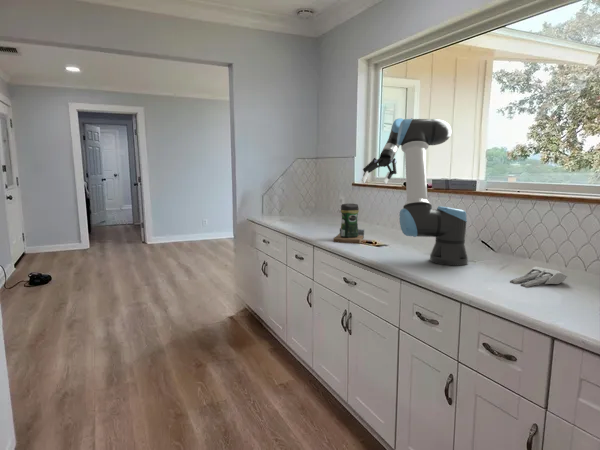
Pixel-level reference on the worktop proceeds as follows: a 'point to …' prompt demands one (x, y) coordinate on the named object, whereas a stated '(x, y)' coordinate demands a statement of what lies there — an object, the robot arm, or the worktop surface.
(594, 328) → the worktop surface
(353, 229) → the coffee jar
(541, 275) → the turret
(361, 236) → the brown piece
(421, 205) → the robot arm
